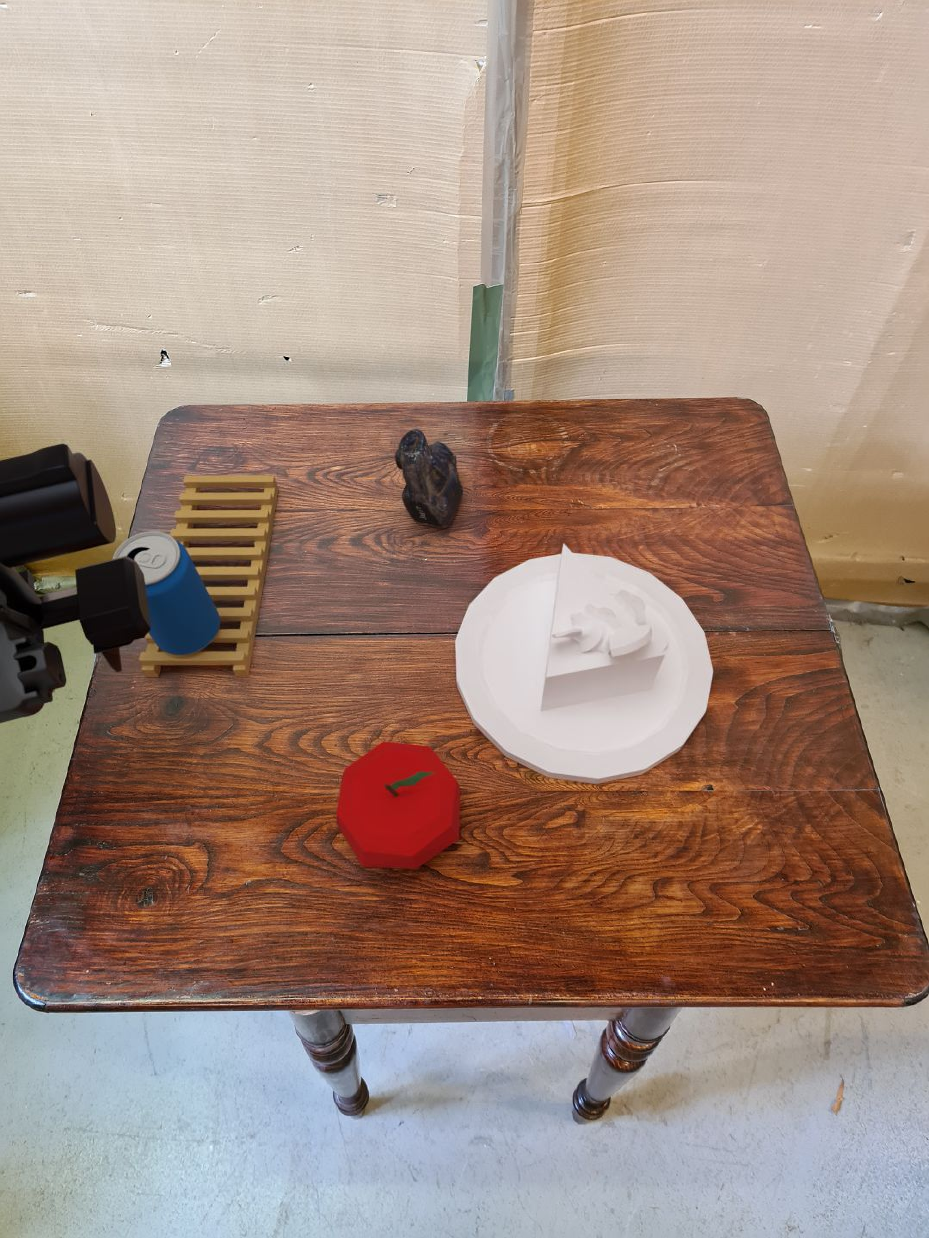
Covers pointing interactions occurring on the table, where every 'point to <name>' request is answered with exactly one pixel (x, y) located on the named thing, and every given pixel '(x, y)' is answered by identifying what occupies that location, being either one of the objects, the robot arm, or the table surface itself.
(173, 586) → the beverage can
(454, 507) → the statue
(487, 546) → the table surface
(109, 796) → the table surface
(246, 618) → the rack
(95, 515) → the robot arm
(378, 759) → the apple
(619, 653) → the dish
